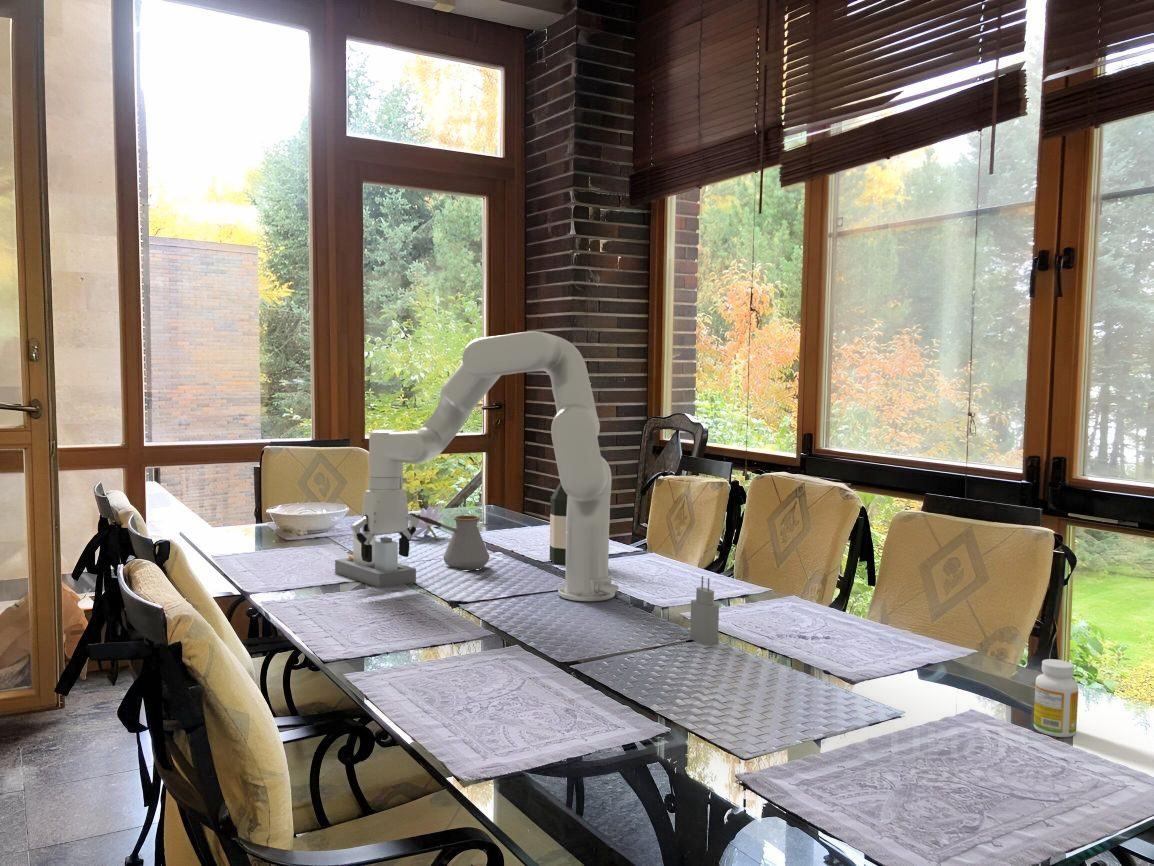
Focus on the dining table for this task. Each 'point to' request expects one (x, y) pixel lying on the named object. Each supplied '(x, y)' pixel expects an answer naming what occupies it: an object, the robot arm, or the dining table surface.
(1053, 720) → the supplement bottle
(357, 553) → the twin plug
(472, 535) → the coffee pot
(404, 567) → the grey socket block
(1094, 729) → the dining table surface
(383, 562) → the plug
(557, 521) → the wine bottle
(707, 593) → the power adapter
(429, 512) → the water lily
